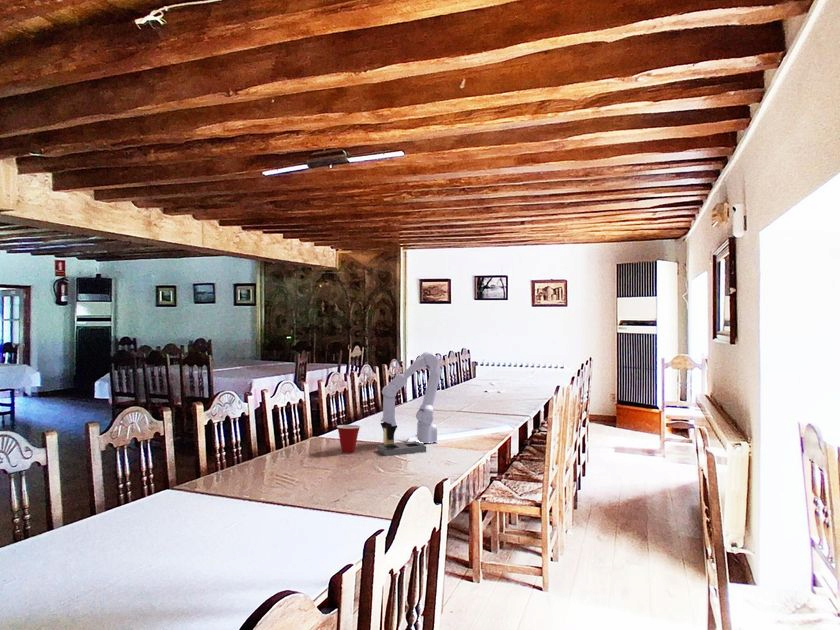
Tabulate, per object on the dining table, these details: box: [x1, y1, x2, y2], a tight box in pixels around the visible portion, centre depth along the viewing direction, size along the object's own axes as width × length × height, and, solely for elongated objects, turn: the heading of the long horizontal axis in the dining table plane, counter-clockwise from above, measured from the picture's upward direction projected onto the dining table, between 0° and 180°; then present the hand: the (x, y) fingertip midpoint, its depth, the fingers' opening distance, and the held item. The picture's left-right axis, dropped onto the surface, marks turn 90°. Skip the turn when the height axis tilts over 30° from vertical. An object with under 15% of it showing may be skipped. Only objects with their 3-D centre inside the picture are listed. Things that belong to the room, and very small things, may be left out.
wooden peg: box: [382, 427, 395, 445], centre depth 261 cm, size 4×4×8 cm
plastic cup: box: [336, 424, 361, 454], centre depth 246 cm, size 11×11×12 cm
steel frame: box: [377, 441, 427, 456], centre depth 247 cm, size 20×10×2 cm, turn 113°
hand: (388, 438), depth 261 cm, fingers open, 5 cm apart
